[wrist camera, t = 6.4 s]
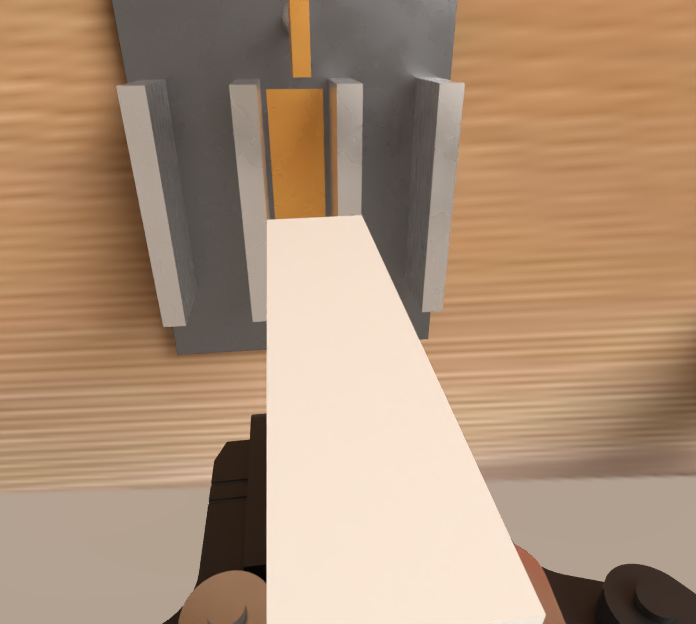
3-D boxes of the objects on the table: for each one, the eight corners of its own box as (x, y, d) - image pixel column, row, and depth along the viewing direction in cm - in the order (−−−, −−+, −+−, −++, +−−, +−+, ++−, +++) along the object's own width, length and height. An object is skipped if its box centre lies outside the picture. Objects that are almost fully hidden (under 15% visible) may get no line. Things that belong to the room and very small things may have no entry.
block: (361, 215, 13) (544, 614, 4) (359, 420, 16) (456, 857, 8) (266, 219, 13) (266, 657, 4) (285, 427, 16) (304, 888, 8)
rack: (450, -20, 27) (568, -65, 16) (422, 328, 37) (483, 447, 26) (115, -25, 25) (-12, -80, 14) (181, 343, 35) (137, 478, 24)
